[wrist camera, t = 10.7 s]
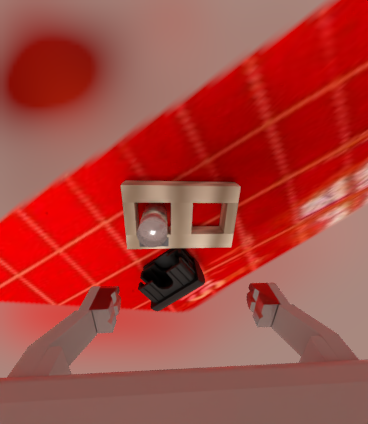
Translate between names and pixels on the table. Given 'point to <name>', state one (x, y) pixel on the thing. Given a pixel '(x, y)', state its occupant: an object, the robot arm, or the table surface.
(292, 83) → the table surface
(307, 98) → the table surface
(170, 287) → the end cap
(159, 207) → the metal pin
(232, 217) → the beige rectangular frame
